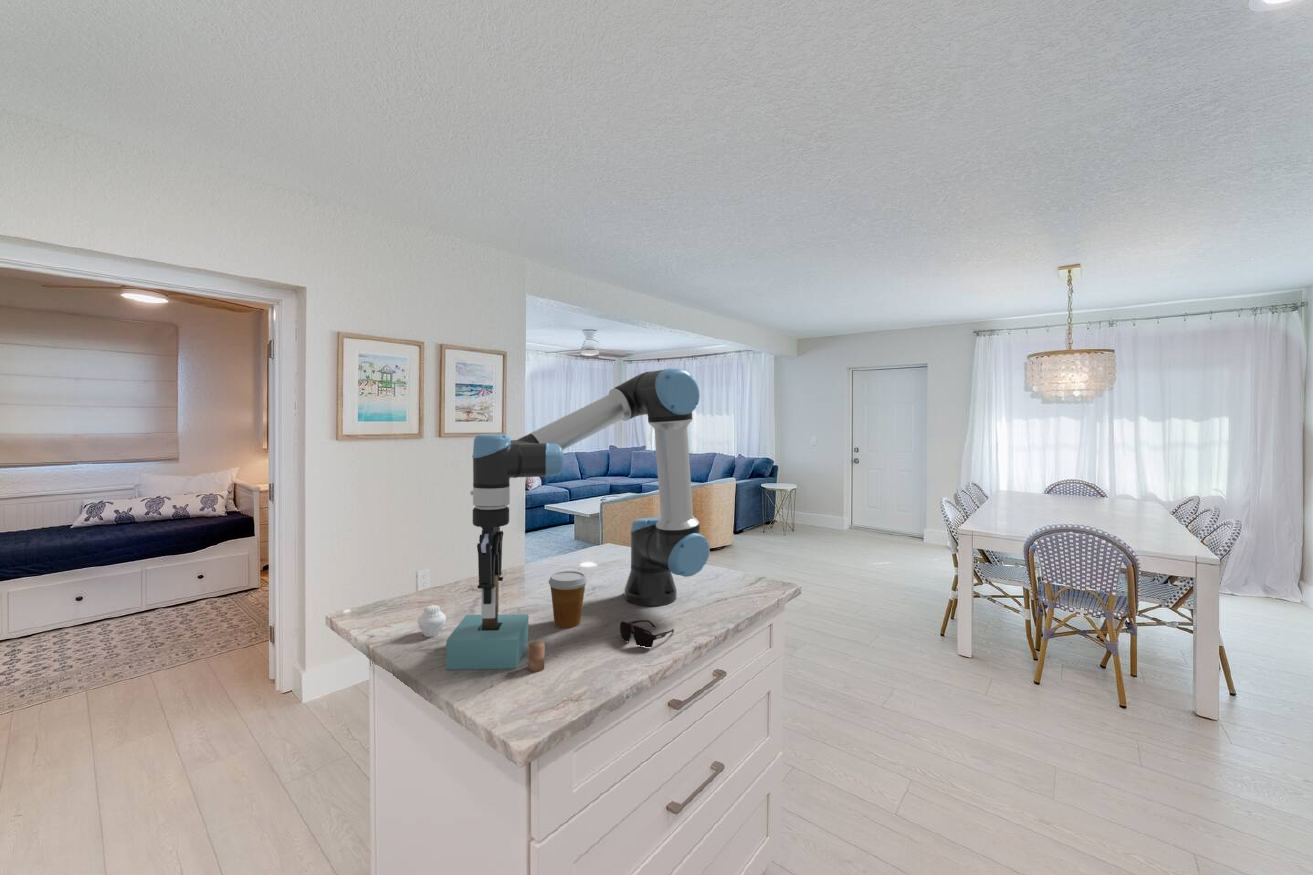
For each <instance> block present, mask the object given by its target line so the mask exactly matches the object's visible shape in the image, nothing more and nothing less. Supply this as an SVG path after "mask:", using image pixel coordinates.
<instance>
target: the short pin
mask: <svg viewBox="0 0 1313 875" xmlns="http://www.w3.org/2000/svg"><path fill="white" fill-rule="evenodd" d="M545 644H546V643H545V642H544V641H541V640H537V641H536V640H535V641H530V642H529V643H528V657H527V658H528V660H527V661H528V664H527V665H528V671H529V672H532V673H538V672H542V671H543V670H545V658H546V656H545V655H546V654H545V649H546V648H545Z"/></svg>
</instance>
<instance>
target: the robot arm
mask: <svg viewBox="0 0 1313 875" xmlns="http://www.w3.org/2000/svg"><path fill="white" fill-rule="evenodd" d="M700 396H701V393H700V388H699V385H698V382H697V381H696V379H695V377H694V376H692V375H691V373H689V372H688V371H686V370H684V369H681V368H665V369H661V370H660V369H659V370H654V371H652V370H651V371H647V372H646V371H645V372H643V373H640V374H637V375H636V376H633V377H632V378H630V379H628V380H626V381H625V382H622V383H620V384H619V385H617V386H615V387H613V388H611V389H610V390H609V392H608V394H607V395H605V396H603V397H601V398H599V399H597V400H596V401H593V402H591V403H590V404H586V405H585V406H583V407H580V408H579V409H577V410H575V411H572V412H571V413H568V414H567V415H564V416H562V417H560V418H559V419H556V420H554V421H552V422H551V423H548V424H546V425H544V426H542V427H540V428H538V429H536V430H534V431H532V432H530V433H528V434H526V435H524V436H522V437H519V438H517V439H512V440H511V437H510V436H509V435H507V434H478V435H476V436H475V437H474V439H473V448H472V474H473V475H472V480H473V481H472V490H471V491H470V492H469V493H470V495H471V496H472V505H473V506H474V508H473V509H472V524H473V526H474V527H477V528H481V534H479V542H478V543H476V544H477V545H476V548H477V557H478V559H477V560H478V561H477V562H478V585H477V589H479V590H481V614H480V615H481V618H495V590H496V587H494V575H498V613H499V611H500V582H502V581H504V580H503V579H504V576H502V573H503V571H502V562H503V561H502V559H503V538H504V531H503V530H501V527H503V526H507V525H508V524H509V522H510V508H509V507H508V505H510V498H511V497H510V493H511V491H510V489H511V488H510V486H511V485H510V480H511V479H517V478H538V477H541V478H542V477H545V478H548V477H553V476H554V477H555V476H559V475H560V474H561V473H562V471H563V469H564V466H565V465H564V464H565V457H564V450H566V449H568V448H569V447H572V446H574V445H575V444H577V443H579V442H581V441H583V440H584V439H585V440H586V438H588V437H589V438H590V436H592V435H595V434H596V433H598V432H600V431H602V430H603V429H606V428H607V427H610V426H611V425H613V424H616V423H617V422H620V421H624V422H627V421H629V420H631V419H633V418H636V417H639V416H644V415H647V422H648V424H649V425H650V426H651V427H652V428H653V429H654V430H653V431H654V439H655V440H654V442H655V454H656V467H657V481H658V497H659V508H660V509H659V510H660V511H659V512H660V516H659V517H658V516H655V517H654V516H653V517H644V518H642V517H641V518H637V519H634V520H633V521H632V523H631V529H630V534H631V535H630V571H629V574H628V578H627V581H626V583H625V587H624V595H623V596H624V599H625V600H626V602H629V603H631V604H635V605H638V606H646V607H647V606H650V607H651V606H653V607H654V606H664V605H669V604H671V603H674V602H675V601H676V599H677V593H678V592H677V587H676V583H675V581H674V576H673V574H674V575H675V576H681V577H687V578H688V577H692V576H695V575H697V574H698V573H699V572H701V571H702V570H703V568H704V566H705V565H706V564H707V562H708V560H709V558H710V557H709V556H710V551H711V550H710V544H709V541H708V540H707V538H706V537H705V536H704V535H702V534H701V530H700V521H699V520H698V518H696V517H695V516H694V512H693V511H694V510H693V495H692V482H691V481H692V480H691V478H692V477H691V465H690V451H689V436H688V426H689V425H690V423H691V422H692V421H693V411H695V409H696V408H697V405H699V402H700ZM674 600H675V601H674Z"/></svg>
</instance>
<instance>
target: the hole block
mask: <svg viewBox="0 0 1313 875" xmlns="http://www.w3.org/2000/svg"><path fill="white" fill-rule="evenodd" d="M529 620H530V619H529V614H526V613H525V614H522V613H521V614H520V613H519V614H518V613H514V614H513V613H512V614H498V630H489V631H482V618H481V614H466V615H465V616H464V617H463V618H462V620H461V621H460V622H459V624H458V625H457V626H456V627H455V629H454V630H453V631H452V633H451V634H449V636H448V638H447V639H446V643H445V648H446V649H445V660H446V662H445V669H446V671H448V670H450V671H451V670H452V671H453V670H502V669H503V670H505V669H506V670H509V669H511V670H513V669H514V670H515V669H518V666H519V663H520V661H521V659H522V656H523V654H524V651H525V649H526V647H527V644H528V641H529Z"/></svg>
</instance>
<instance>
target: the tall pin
mask: <svg viewBox="0 0 1313 875" xmlns="http://www.w3.org/2000/svg"><path fill="white" fill-rule="evenodd" d="M498 582H499V581H498V575H494V587H496V590H495V618H482V631H489V630H498V615H499V612H498Z"/></svg>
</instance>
